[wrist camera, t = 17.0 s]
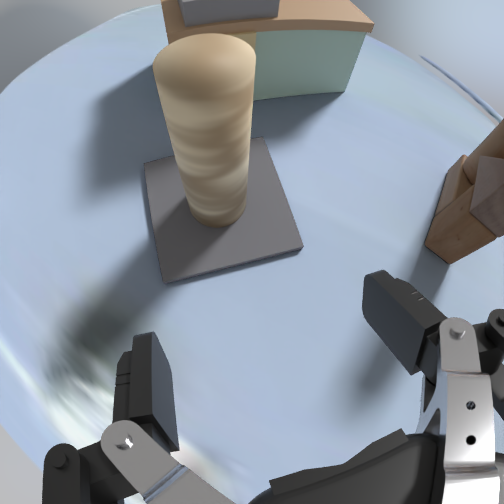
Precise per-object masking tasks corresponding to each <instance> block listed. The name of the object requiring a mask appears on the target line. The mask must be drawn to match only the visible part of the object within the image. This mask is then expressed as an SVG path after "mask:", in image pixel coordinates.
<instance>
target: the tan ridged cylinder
mask: <svg viewBox="0 0 504 504" xmlns="http://www.w3.org/2000/svg"><path fill="white" fill-rule="evenodd" d="M255 65H256V54H255V52H254V50H253V48H252V47H251V46H250V45H249V44H248V43H246V42H245V41H243V40H241V39H239V38H237V37H234V36H230V35H225V34H216V33H207V34H197V35H192V36H188V37H185V38H182V39H179V40H177V41H175V42H173V43H171V44H169V45H168V46H166V47H165V48H163V49H162V50H161V51H160V52H159V53H158V54H157V56H156V57H155V59H154V61H153V73H154V77H155V81H156V85H157V89H158V93H159V97H160V101H161V105H162V109H163V113H164V117H165V121H166V125H167V129H168V133H169V136H170V140H171V144H172V148H173V151H174V155H175V159H176V162H177V166H178V169H179V173H180V177H181V180H182V184H183V187H184V191H185V194H186V197H187V201H188V204H189V208H190V211H191V213H192V215H193V217H194V218H195V219H196V220H197V221H198V222H200V223H201V224H203V225H205V226H208V227H213V228H220V227H225V226H228V225H231V224H232V223H234V222H236V221H237V220H238V219H239V218H240V217H241V215H242V214H243V212H244V210H245V207H246V197H247V181H248V166H249V151H250V136H251V121H252V107H253V93H254V79H255Z"/></svg>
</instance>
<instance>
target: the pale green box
mask: <svg viewBox="0 0 504 504" xmlns="http://www.w3.org/2000/svg"><path fill="white" fill-rule="evenodd" d="M161 5H162V10H163V16H164V21H165V27H166V32H167V37H168V43H169V44H171V43H173V42H175V41H177V40H179V39H182V38H185V37H188V36H192V35H197V34H207V33H216V34H225V35H230V36H234V37H237V38H239V39H241V40H243V41H245V42H246V43H248V44H249V45H250V46H251V47H252V48H253V50H254V52H255V54H256V65H255V79H254V93H253V101H256V100H263V99H270V98H278V97H286V96H296V95H306V94H318V93H332V92H345V89H346V87H347V84H348V81H349V79H350V76H351V73H352V71H353V68H354V65H355V63H356V60H357V57H358V55H359V52H360V49H361V46H362V44H363V41H364V38H365V35H366V33H367V32H370V33H371V32H372V29H373V26H374V23H373V22H372V21H371V20H370V19H369V18H368V17H367V16H366V15H365V14H364V13H363V12H362V11H360V10H359V9H358V8H357V7H356V6H355V5H354V4H352V3H351V2H350V1H349V0H161Z"/></svg>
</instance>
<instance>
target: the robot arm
mask: <svg viewBox="0 0 504 504" xmlns="http://www.w3.org/2000/svg"><path fill="white" fill-rule="evenodd" d="M362 311H363V315H364V317H365V319H366V321H367V322H368V323H369V325H370V326H371V327H372V328H373V329H374V331H375V332H376V333H377V334H378V335H379V337H380V338H381V339H382V340H383V341H384V343H385V344H386V345H387V346H388V348H389V349H390V350H391V351H392V352H393V354H394V355H395V356H396V357H397V359H398V360H399V361H400V362H401V364H402V365H403V366H404V367H405V369H406V370H407V371H408V372H409V374H410V375H413V374H415V373H417V372H419V371H422V372H423V373H424V375H423V378H422V393H421V407H420V417H419V422H418V426H417V429H416V432H415V434H408V435H405V433H404V432H403V430H402V429H399V430H397V431H395V432H393V433H391V434H389V435H387V436H385V437H383V438H381V439H379V440H377V441H375V442H372V443H371V444H370V445H369V446H367V447H366V448H365V449H363V450H362V451H361V452H359V453H358V454H357V455H355V456H354V457H353V458H351V459H350V460H348V461H347V462H346V463H344V464H341V465H336V466H329V467H322V468H314V469H306V470H302V471H299V472H296V473H292V474H289V475H286V476H283V477H279V478H276V479H272V480H269V482H270V485H271V488H269V489H267V490H265V491H264V492H262V493H261V494H259V495H258V496H256V497H255V498H254V499H253V500H252V501H250V502H249V503H248V504H504V454H502V453H497V452H495V434H494V413H493V407H494V408H495V410H496V411H497V412H498V414H499V415H500V416H501V418H502V419H503V420H504V365H503V364H502V362H503V360H504V309H496V310H493V311H492V312H491V313H490V314H489V317H488V320H487V322H485V323H480V324H475V325H471V324H470V323H469V322H468V321H466V320H464V319H461V318H455V317H453V318H447V317H446V316H445V315H444V314H443V313H441V312H440V311H439V310H438V309H437V308H436V307H435V306H434V305H433V304H432V303H431V302H429V301H428V300H427V299H426V298H424V296H423V295H422V294H420V293H419V292H417V290H416V289H415V288H414V287H412V286H411V285H410V284H409V283H407V282H405V281H403V280H400V279H398V278H396V279H394V278H393V277H392V276H391V275H390V274H389V273H388V272H386V271H385V270H380V271H377V272H374V273H371V274H368V275H366V276H365V278H364V287H363V301H362ZM116 376H117V377H116V383H115V385H116V387H115V395H114V408H113V422H112V424H111V425H109V426H108V427H107V428H106V429H105V431H104V432H103V434H102V437H101V440H100V441H99V442H97V443H94V444H92V445H89V446H87V447H84V448H82V449H79V450H77V449H76V448H75V447H73V446H72V445H70V444H66V443H62V444H58V445H55V446H54V447H52V448H51V449H50V450H49V451H48V453H47V454H46V457H45V460H44V471H43V491H42V504H124V498H126V497H129V496H132V495H134V494H137V493H140V494H141V495H142V496H143V498H144V501H145V502H146V503H147V504H235V503H234V502H233V501H231V500H230V499H228V498H227V497H225V496H224V495H223V494H221V493H220V492H218V491H217V490H216V489H214V488H213V487H212V486H210V485H209V484H208V483H206V482H205V481H204V480H202V479H201V478H200V477H199V476H197V475H196V474H195V473H194V472H192V471H191V470H190V469H188V468H187V467H186V466H184V465H181V464H180V463H179V462H177V461H176V460H175V459H174V458H173V457H172V456H171V455H170V452H174V451H180V450H179V442H178V434H177V425H176V415H175V405H174V394H173V382H172V373H171V369H170V365H169V362H168V360H167V358H166V355H165V353H164V351H163V349H162V347H161V345H160V342H159V340H158V338H157V336H156V334H155V332H149V333H144V334H140V335H135V336H134V337H133V346H132V351H128V352H124V353H123V355H122V357H121V358H120V360H119V362H118V364H117V373H116Z"/></svg>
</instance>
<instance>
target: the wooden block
mask: <svg viewBox="0 0 504 504" xmlns="http://www.w3.org/2000/svg"><path fill="white" fill-rule="evenodd" d="M503 235H504V119H503V120H502V121H501V122H500V123H499V125H498V126H497V127H496V128H495V129H494V130H493V131H492V132H491V133H490V134H489V135H488V136H487V138H486V139H485V140H484V141H483V142H482V143H481V144H480V145H479V146H478V147H477V148H476V149H475V150H474V151H473V152H472V153H471V154H470V155H469V156H468V157H467V156H466V155H462V156H461V157H460V159H459V160H458V161H457V162H456V163H455V164H454V165H453V166H452V167H451V168H450V169H449V170H448V173H447V176H446V180H445V183H444V187H443V190H442V194H441V197H440V200H439V203H438V206H437V210H436V213H435V217H434V218H433V221H432V224H431V227H430V230H429V233H428V236H427V238H426V241H425V246H426V247H428V248H429V249H430V250H431V251H433V252H434V253H435V254H437V255H438V256H439V257H441V258H442V259H443V260H444V261H446V262H447V263H449V264H452V263H454V262H456V261H458V260H460V259H461V258H463V257H465V256H467V255H469V254H471V253H472V252H474V251H476V250H478V249H480V248H481V247H483V246H485V245H487V244H488V243H490V242H492V241H494V240H495V239H496V238H497V237H501V236H503Z"/></svg>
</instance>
